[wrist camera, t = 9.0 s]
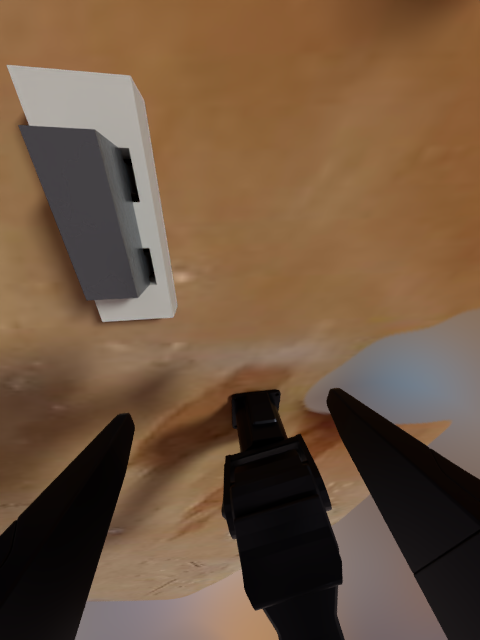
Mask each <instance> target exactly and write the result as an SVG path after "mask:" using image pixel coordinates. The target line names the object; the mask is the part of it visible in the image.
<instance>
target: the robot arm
mask: <svg viewBox="0 0 480 640" xmlns="http://www.w3.org/2000/svg"><path fill="white" fill-rule="evenodd" d="M280 395H281V393H280V391H279V390H270V391H261V392H252V393H244V394H235V395H233V396H232V426H233V428H234V429H237V430H238V437H239V445H240V452H241V453H237V454H234V455H227V456H226V459H225V464H224V494H223V503H222V516H223V517H224V518H225V519H226V520H227V524H228V528H229V532H230V535H231V537H232V539H237V545H238V550H239V556H240V562H241V567H242V574H243V582H244V588H245V592H246V594H247V596H248V598H249V600H250V602H251V604H252V606H253V608H254V609H255V610H259V609H263V610H264V612H265V614H266V615H267V617H268V618H269V620H270V621H271V623H272V625H273V627H274V628H275V630H276V631H277V634H278V637H279V640H345V639H344V636H343V633H342V630H341V627H340V623H339V620H338V617H337V596H338V585H341V584H342V561H341V557H340V555H339V548H338V544H337V541H336V539H335V536H334V533H333V530H332V527H331V524H330V521H329V518H328V516H327V513H326V511H329V510H332V507H331V502H330V499H329V496H328V493H327V490H326V487H325V485H324V482H323V480H322V477H321V475H320V473H319V470H318V468H317V466H316V464H315V462H314V460H313V458H312V456H311V454H310V452H309V450H308V448H307V446H306V444H305V442H304V440H303V438H302V436H301V434H298V435H296V436H294V437H291V438H287V435H286V432H285V429H284V427H283V424H282V421H281V418H280V416H279V413H278V410H279V403H280ZM235 398H236V399H235ZM327 406H328V408H329V411H330V413H331V416H332V418H333V420H334V423H335V425H336V428H337V430H338V432H339V435H340V437H341V439H342V441H343V443H344V445H345V447H346V449H347V450H348V452H349V454H350V456H351V458H352V460H353V462H354V464H355V465H356V467H357V469H358V471H359V473H360V475H361V477H362V479H363V480H364V482H365V484H366V486H367V488H368V490H369V492H370V494H371V495H372V497H373V499H374V501H375V503H376V505H377V506H378V509H379V510H380V512H381V514H382V516H383V518H384V520H385V522H386V524H387V525H388V527H389V529H390V531H391V533H392V535H393V537H394V538H395V540H396V542H397V544H398V546H399V548H400V550H401V552H402V554H403V556H404V557H405V559H406V561H407V563H408V565H409V567H410V569H411V571H412V572H413V573H414V577H415V578H416V580H417V582H418V584H419V586H420V588H421V590H422V591H423V593H424V595H425V597H426V599H427V601H428V603H429V605H430V606H431V608H432V610H433V612H434V614H435V616H436V618H437V620H438V621H439V623H440V625H441V627H442V629H443V631H444V633H445V634H446V637H447V638H448V640H480V479H478V478H476V477H475V476H473V475H471V474H470V473H468V472H467V471H464V470H463V469H462V468H460V467H459V466H457V465H455V464H454V463H452V462H450V461H449V460H448V459H446V458H445V457H443V456H441V455H440V454H438V453H437V452H435V451H434V450H432V449H429V447H428V446H426V445H425V444H423V443H422V442H420V441H419V440H417V439H416V438H414V437H413V436H411V435H410V434H408V433H407V432H405V431H404V430H402V429H401V428H399V427H398V426H396V425H395V424H393V423H392V422H390V421H388V420H387V419H385V418H384V417H382V416H381V415H379V414H378V413H376V412H375V411H373V410H372V409H370V408H369V407H367V406H365V405H364V404H363V403H361V402H360V401H358V400H357V399H355V398H354V397H352V396H351V395H349V394H348V393H346V392H345V391H343V390H342V389H340V388H333V389H330V391H329V394H328V397H327ZM134 431H135V425H134V422H133V420H132V417H131V415H130V414H129V413H123V414H118V415H117V416H116V417H115V418H114V419H113V420H112V421H111V422H110V423H109V424H108V425H107V426H106V427H105V428H104V429H103V430H102V431H101V432H100V433H99V434H98V435H97V436H96V438H95V439H94V440H93V441H92V442H91V443H90V444H89V445H88V446H87V447H86V448H85V449H84V450H83V451H82V452H81V453H80V454H79V455H78V456H77V457H76V458H75V459H74V460H73V461H72V462H71V463H70V464H69V465H68V466H67V467H66V468H65V470H64V471H63V472H62V473H61V474H60V475H59V476H58V477H57V478H56V479H55V480H54V481H53V482H52V483H51V484H50V485H49V486H48V487H47V488H46V489H45V490H44V491H43V492H42V493H41V494H40V495H39V496H38V497H37V498H36V499H35V500H34V502H33V503H32V504H31V505H30V506H29V507H28V508H27V509H26V510H25V511H24V512H23V513H22V514H21V515H20V516H19V517H18V519H17V520H15V521H14V522H13V523H12V524H11V525H10V526H9V527H8V528H7V529H6V530H5V531H4V532H3V533H2V534H1V535H0V640H75V636H76V634H77V630H78V627H79V624H80V620H81V617H82V614H83V611H84V608H85V604H86V601H87V598H88V595H89V591H90V588H91V585H92V581H93V578H94V575H95V572H96V568H97V565H98V562H99V559H100V555H101V552H102V549H103V546H104V542H105V539H106V536H107V533H108V529H109V526H110V523H111V520H112V516H113V513H114V510H115V507H116V503H117V500H118V497H119V493H120V490H121V487H122V484H123V480H124V477H125V473H126V470H127V465H128V460H129V455H130V450H131V446H132V441H133V436H134Z"/></svg>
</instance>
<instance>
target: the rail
mask: <svg viewBox="0 0 480 640" xmlns="http://www.w3.org/2000/svg"><path fill="white" fill-rule="evenodd" d="M7 67H8V70H9V73H10V75H11V78H12V81H13V83H14V86H15V89H16V92H17V94H18V97H19V100H20V102H21V105H22V108H23V110H24V113H25V116H26V118H27V121H28V124H29V126H44V127H62V128H80V129H95V130H96V131H98V132H99V133H100V134H101V135H103V136H104V137H105V138H107V139H108V140H109V141H110V142H112V143H113V144H114V145H116V146H117V147H118V148H119V149H121V151H122V156H123V159H131V160H132V165H133V170H134V175H135V180H136V185H137V190H138V195H139V200H140V202H133V206H134V211H135V216H136V220H137V225H138V229H139V234H140V239H141V243H142V248H150V253H151V258H152V263H153V268H154V273H155V277H149V280H150V285H149V286H148V287H147V288H146V289H145V291H144V292H143V293H142V294H141V295H140V296H139V298H128V299H106V300H95V303H96V306H97V308H98V311H99V314H100V316H101V319H102V322H109V321H125V320H141V319H157V318H173V317H174V315H175V312H176V309H177V306H178V305H177V299H176V293H175V287H174V281H173V274H172V268H171V262H170V256H169V250H168V244H167V237H166V231H165V225H164V219H163V213H162V207H161V200H160V194H159V188H158V182H157V176H156V170H155V163H154V157H153V151H152V145H151V139H150V133H149V126H148V120H147V114H146V108H145V102H144V99H143V98H142V96H141V94H140V92H139V90H138V88H137V87H136V85H135V83H134V81H133V79H132V78H131V76H128V75H117V74H105V73H94V72H82V71H71V70H60V69H48V68H37V67H25V66H14V65H7Z"/></svg>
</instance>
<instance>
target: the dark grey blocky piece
mask: <svg viewBox="0 0 480 640" xmlns="http://www.w3.org/2000/svg"><path fill="white" fill-rule="evenodd" d="M18 126H19V128H20V131H21V134H22V136H23V139H24V141H25V144H26V146H27V149H28V151H29V154H30V157H31V159H32V162H33V164H34V167H35V169H36V172H37V175H38V177H39V180H40V182H41V185H42V187H43V190H44V192H45V195H46V198H47V200H48V203H49V205H50V208H51V210H52V213H53V216H54V218H55V221H56V223H57V226H58V228H59V231H60V233H61V236H62V239H63V241H64V244H65V246H66V249H67V251H68V254H69V256H70V259H71V262H72V264H73V267H74V269H75V272H76V274H77V277H78V280H79V282H80V285H81V287H82V290H83V292H84V295H85V297H86V300H106V299H128V298H139V296H140V295H141V294H142V293H143V292H144V291H145V289H146V288H147V287H148V286H149V285H150V280H149V276H150V275H151V274H152V273H153V272H154V268H153V263H152V258H151V253H150V252H143V248H142V243H141V239H140V234H139V229H138V225H137V220H136V216H135V211H134V206H133V202H132V197H131V194H134V195H138V190H137V185H136V180H135V175H134V170H133V168H132V167H131V166H129V165H128V164H126V163H125V162H124V160H123V156H122V151H121V149H119V148H118V147H117V146H116V145H114V144H113V143H112V142H110V141H109V140H108V139H107V138H105V137H104V136H103V135H101V134H100V133H99V132H98V131H96V130H95V129H80V128H62V127H44V126H27V125H18Z"/></svg>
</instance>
